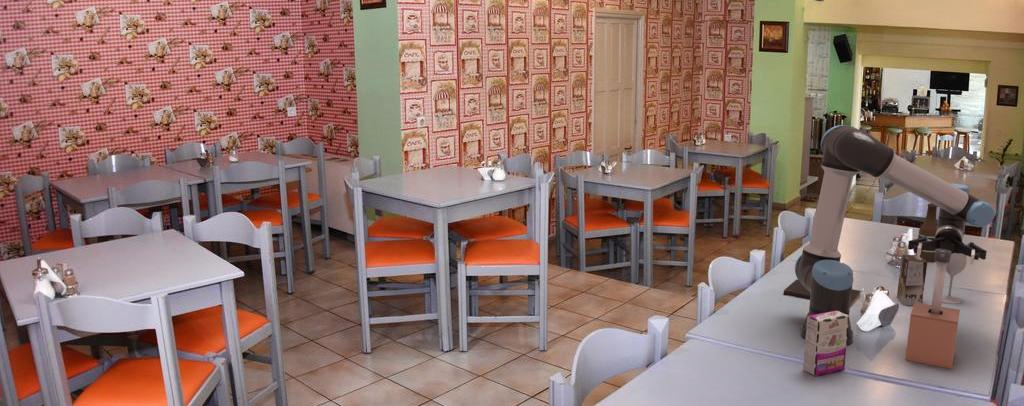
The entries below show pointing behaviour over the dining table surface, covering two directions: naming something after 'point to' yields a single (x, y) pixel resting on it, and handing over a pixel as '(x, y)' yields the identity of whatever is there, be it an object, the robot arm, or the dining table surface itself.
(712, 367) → the dining table surface
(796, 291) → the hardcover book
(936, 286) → the pump plunger
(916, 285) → the coffee box
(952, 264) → the wineglass
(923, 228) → the beer bottle
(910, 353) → the slotted cardboard box
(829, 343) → the candy bar box
